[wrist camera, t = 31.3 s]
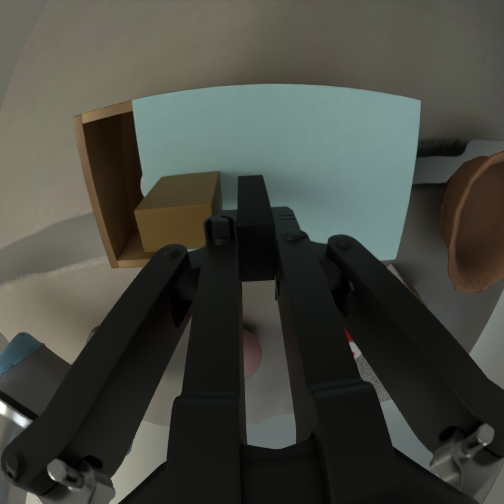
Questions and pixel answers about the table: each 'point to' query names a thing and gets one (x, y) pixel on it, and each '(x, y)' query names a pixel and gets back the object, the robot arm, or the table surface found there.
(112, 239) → the display box
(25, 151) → the table surface
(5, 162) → the table surface
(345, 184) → the teal box lid
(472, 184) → the bowl
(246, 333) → the figurine
